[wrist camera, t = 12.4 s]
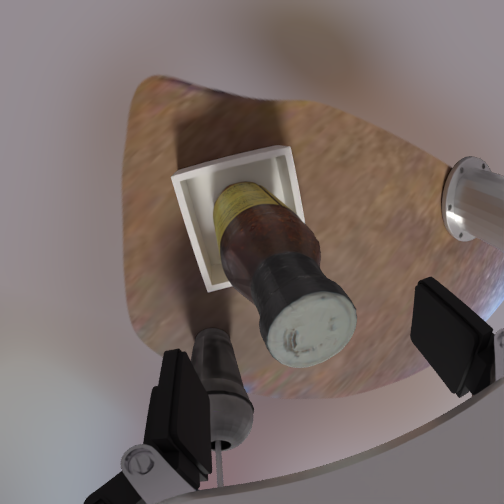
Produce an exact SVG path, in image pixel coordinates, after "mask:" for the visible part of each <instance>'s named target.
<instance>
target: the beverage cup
mask: <svg viewBox="0 0 504 504" xmlns="http://www.w3.org/2000/svg"><path fill="white" fill-rule="evenodd" d="M191 363H192V365H193V367H194V369H195V371H196V373H197V375H198V377H199V379H200V380H201V382H202V384H203V386H204V388H205V390H206V392H207V394H208V396H209V399H210V425H211V451H216V468H217V484H218V487H224V486H223V472H222V456H221V451H227V450H230V449H233V448H235V447H237V446H238V445H240V444H241V443H242V442H243V441H244V440H245V439H246V438H247V436H248V434H249V433H250V431H251V428H252V423H253V412H254V408H253V405H252V403H251V402H250V400H249V398H248V395H247V393H246V391H245V389H244V387H243V383H242V379H241V376H240V372H239V369H238V365H237V361H236V358H235V354H234V350H233V347H232V344H231V342H230V338H229V336H228V335H227V333H226V332H224V331H222V330H220V329H217V328H209V329H205V330H203V331H201V332H200V333H199V334H198V335H197V336H196V338H195V343H194V346H193V351H192V357H191Z"/></svg>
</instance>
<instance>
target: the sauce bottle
mask: <svg viewBox="0 0 504 504" xmlns="http://www.w3.org/2000/svg"><path fill="white" fill-rule="evenodd" d="M213 222H214V227H215V233H216V238H217V244H218V249H219V254H220V260H221V264H222V268H223V270H224V273H225V275H226V277H227V279H228V281H229V282H230V283H231V285H232V286H233V287H234V288H235V289H236V290H237V291H238V292H240V293H241V294H242V295H243V296H244V297H246V298H247V299H248V300H249V301H251V302H252V303H253V304H254V305H255V306H256V307H257V309H258V312H259V315H260V321H259V327H260V332H261V336H262V338H263V340H264V342H265V344H266V347H267V349H268V351H269V352H270V354H271V355H272V357H273V358H275V359H276V360H277V361H279V362H280V363H282V364H284V365H287V366H289V367H296V368H303V367H309V366H313V365H316V364H319V363H322V362H324V361H326V360H328V359H329V358H331V357H332V356H334V355H336V354H337V353H338V352H340V351H341V350H342V349H343V348H344V347H345V346H346V344H347V343H348V342H349V341H350V339H351V337H352V335H353V333H354V331H355V328H356V322H357V315H356V308H355V307H354V305H353V303H352V301H351V300H350V298H349V297H348V296H347V294H346V293H345V292H344V291H343V289H342V288H341V287H340V286H339V285H338V284H337V283H336V282H334V281H331V280H330V279H328V278H327V277H326V276H325V275H324V274H323V273H322V271H321V270H320V260H321V251H320V245H319V241H318V240H317V239H316V237H315V236H314V233H313V232H312V231H311V230H310V229H309V227H308V226H307V225H306V224H305V223H303V222H302V220H301V219H300V218H299V216H298V215H297V214H296V213H294V212H293V211H292V210H291V209H290V208H289V207H287V206H286V205H285V204H284V203H283V202H282V201H280V200H279V199H278V198H277V197H276V196H274V195H273V194H272V193H271V192H269V191H268V190H267V189H266V188H264V187H263V186H261V185H257V184H256V183H254V182H246V181H245V182H239V183H235V184H231V185H229V186H227V187H226V188H225V189H224V190H223V191H222V192H221V194H220V195H219V196H218V198H217V200H216V201H215V204H214V210H213Z"/></svg>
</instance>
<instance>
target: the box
mask: <svg viewBox="0 0 504 504" xmlns="http://www.w3.org/2000/svg"><path fill="white" fill-rule="evenodd" d="M171 179H172V182H173V186H174V189H175V192H176V196H177V199H178V202H179V206H180V209H181V212H182V216H183V219H184V222H185V225H186V229H187V232H188V235H189V238H190V241H191V244H192V247H193V250H194V253H195V256H196V259H197V263H198V266H199V268H200V271H201V274H202V277H203V280H204V283H205V286H206V289H207V292H212V291H216V290H220V289H224V288H227V287H231V286H232V285H231V283H230V282H229V281H228V279H227V277H226V275H225V273H224V270H223V268H222V264H221V260H220V254H219V249H218V244H217V238H216V233H215V227H214V222H213V210H214V204H215V201H216V200H217V198H218V196H219V195H220V194H221V192H222V191H223V190H224V189H225V188H226V187H227V186H229V185H231V184H235V183H239V182H245V181H246V182H254V183H256V184H257V185H261V186H263V187H264V188H266V189H267V190H268V191H269V192H271V193H272V194H273V195H274V196H276V197H277V198H278V199H279V200H280V201H282V202H283V203H284V204H285V205H286V206H287V207H289V208H290V209H291V210H292V211H293V212H294V213H296V214H297V215H298V216H299V218H300V219H301V220H302V222H303V223H305V220H304V214H303V208H302V203H301V197H300V192H299V186H298V181H297V176H296V171H295V166H294V161H293V156H292V151H291V147H289V146H282V145H275V146H270V147H266V148H261V149H257V150H252V151H248V152H244V153H239V154H235V155H231V156H227V157H223V158H219V159H216V160H212V161H208V162H204V163H201V164H197V165H194V166H190V167H187V168H183V169H180V170H177V171H176V172H175V173H174V174H173V175H172V176H171Z"/></svg>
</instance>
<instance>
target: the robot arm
mask: <svg viewBox="0 0 504 504" xmlns="http://www.w3.org/2000/svg"><path fill="white" fill-rule="evenodd" d="M442 215H443V220H444V224H445V226H446V229H447V231H448V232H449V233H450V235H452V236H453V237H454V238H456V239H458V240H460V241H470V240H472V239H474V238H478V239H480V240H482V241H484V242H486V243H487V244H489V245H491V246H493V247H495V248H496V249H498V250H500V251H502V252H503V253H504V176H503V175H500V174H496V173H492V172H491V170H490V168H489V166H488V165H487V164H486V163H485V162H484V161H483V160H482V159H480V158H477V157H472V156H469V157H465V158H463V159H461V160H460V161H458V162H457V163H456V164H455V166H454V167H453V168H452V170H451V172H450V173H449V175H448V178H447V180H446V183H445V187H444V191H443V197H442ZM492 331H493V329H492V328H491V327H490V326H489V325H488V324H487V323H486V322H485V321H484V320H483V319H482V318H480V317H479V316H478V315H477V314H476V313H475V312H474V311H473V310H471V309H470V308H469V307H468V306H467V305H466V304H464V303H463V302H462V301H461V300H460V299H459V298H457V297H456V296H455V295H454V294H453V293H451V292H450V291H449V290H448V289H447V288H445V287H444V286H443V285H442V284H440V283H439V282H438V281H437V280H435V279H434V278H433V277H428V278H425V279H423V280H420V281H419V282H418V285H417V286H416V287H415V297H414V308H413V317H412V326H411V334H410V336H411V340H412V342H413V344H414V345H415V346H416V347H417V348H418V350H419V351H420V352H421V353H422V355H423V356H424V357H425V358H426V360H427V361H428V362H429V364H430V365H431V366H432V367H433V369H434V370H435V371H436V373H437V374H438V375H439V376H440V378H441V379H442V380H443V382H444V383H445V384H446V386H447V387H448V388H449V390H450V391H451V392H452V393H456V394H457V396H458V397H459V398H460V397H462V396H464V395H465V394H467V393H468V392H469V391H470V392H471V393H472V397H471V398H470V399H468V400H466V401H465V402H463V403H462V404H460V405H458V406H457V407H455V408H454V409H452V410H450V411H448V412H447V413H445V414H443V415H441V416H440V417H438V418H436V419H434V420H432V421H430V422H428V423H427V424H425V425H423V426H421V427H419V428H417V429H415V430H413V431H411V432H409V433H407V434H404V435H402V436H400V437H398V438H396V439H394V440H391V441H389V442H387V443H384V444H382V445H380V446H377V447H375V448H372V449H370V450H367V451H365V452H362V453H359V454H357V455H354V456H351V457H348V458H345V459H342V460H339V461H336V462H333V463H330V464H326V465H323V466H320V467H316V468H313V469H310V470H305V471H302V472H298V473H294V474H289V475H285V476H281V477H277V478H272V479H266V480H262V481H256V482H250V483H245V484H238V485H232V486H224V487H218V488H212V489H205V490H198V488H199V487H200V481H208V474H211V473H212V456H211V425H210V399H209V396H208V394H207V392H206V390H205V388H204V386H203V384H202V382H201V380H200V379H199V377H198V375H197V373H196V371H195V369H194V367H193V365H192V363H191V361H190V359H189V357H188V355H187V353H186V352H185V351H184V352H182V351H181V350H180V349H174V350H169V351H165V352H164V356H163V361H162V367H161V372H160V378H159V384H158V386H155V387H153V389H152V393H151V398H150V404H149V410H148V416H147V423H146V429H145V435H144V442H143V444H140V445H135V446H133V447H131V448H129V449H128V450H127V451H126V452H125V453H124V455H123V456H122V459H121V469H122V471H121V472H120V473H119V474H117V475H116V476H115V477H114V478H112V479H111V480H109V481H108V482H107V483H106V484H104V485H103V486H102V487H100V488H99V489H98V490H96V491H95V492H93V493H92V494H91V495H89V496H88V498H86V500H85V502H84V504H504V328H503V329H500V330H499V331H497V332H496V334H493V333H492Z"/></svg>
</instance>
